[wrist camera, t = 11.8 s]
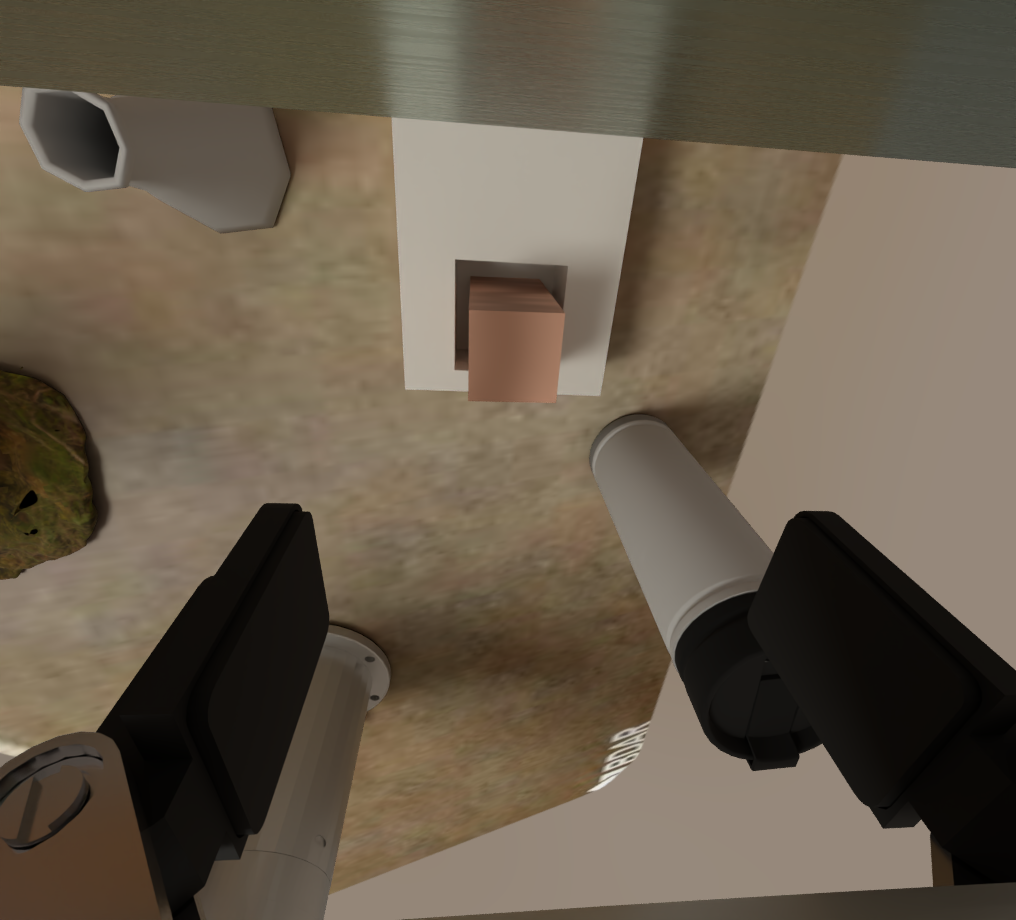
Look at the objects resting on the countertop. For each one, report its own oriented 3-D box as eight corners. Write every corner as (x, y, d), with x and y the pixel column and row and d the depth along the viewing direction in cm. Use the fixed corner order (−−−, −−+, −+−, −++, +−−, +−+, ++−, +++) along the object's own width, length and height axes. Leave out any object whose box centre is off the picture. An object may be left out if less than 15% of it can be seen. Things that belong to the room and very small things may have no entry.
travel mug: (587, 495, 36) (694, 781, 18) (589, 416, 33) (721, 673, 15) (669, 488, 36) (851, 764, 19) (678, 409, 33) (910, 654, 15)
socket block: (584, 370, 31) (600, 395, 27) (414, 363, 30) (405, 389, 26) (626, 80, 23) (656, 58, 20) (402, 59, 23) (387, 32, 19)
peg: (539, 278, 27) (565, 313, 20) (534, 346, 29) (555, 402, 22) (470, 276, 27) (468, 309, 19) (469, 344, 29) (468, 401, 21)
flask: (293, 90, 23) (183, 28, 14) (292, 248, 26) (202, 276, 18) (128, 44, 22) (-101, -54, 13) (150, 216, 25) (-21, 230, 16)
